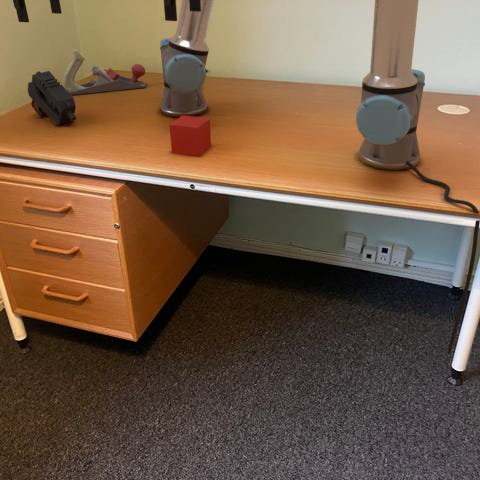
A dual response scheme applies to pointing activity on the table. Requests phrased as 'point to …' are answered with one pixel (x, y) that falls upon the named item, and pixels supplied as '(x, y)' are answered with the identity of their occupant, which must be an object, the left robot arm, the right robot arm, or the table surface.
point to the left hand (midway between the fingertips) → (41, 17)
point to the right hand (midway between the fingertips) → (183, 15)
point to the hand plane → (100, 78)
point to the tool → (51, 98)
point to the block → (190, 135)
